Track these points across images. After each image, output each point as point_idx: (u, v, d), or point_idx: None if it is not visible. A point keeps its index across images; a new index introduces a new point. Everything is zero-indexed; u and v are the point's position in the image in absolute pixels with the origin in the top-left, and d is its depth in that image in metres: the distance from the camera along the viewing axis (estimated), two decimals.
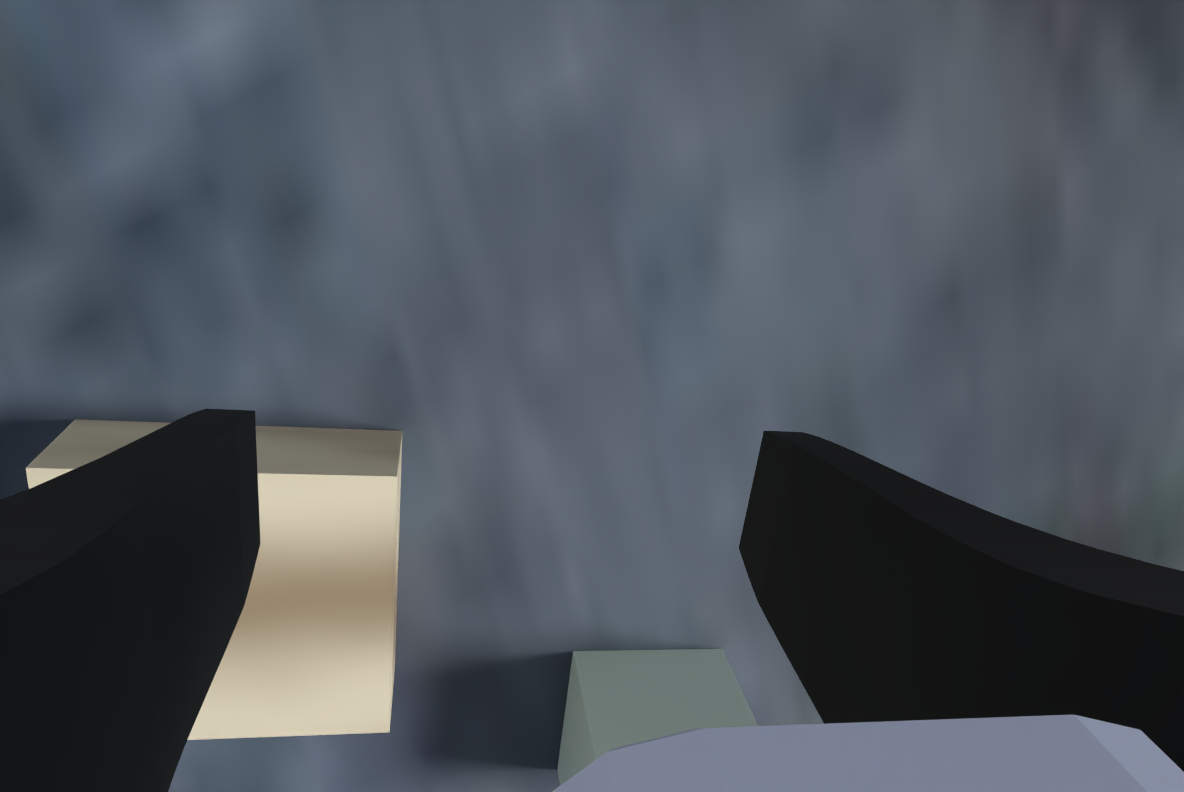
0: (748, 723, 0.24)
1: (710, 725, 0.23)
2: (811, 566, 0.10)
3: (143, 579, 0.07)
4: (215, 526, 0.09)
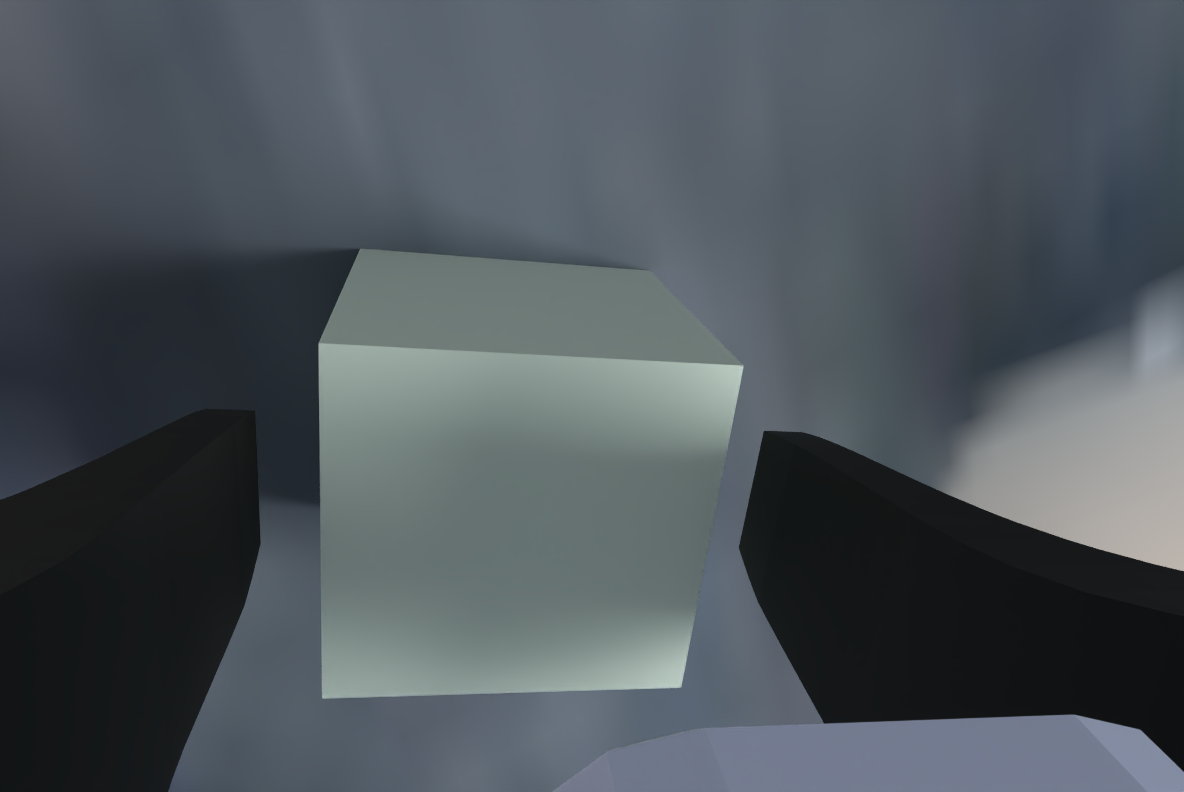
0: (686, 324, 0.11)
1: (605, 319, 0.11)
2: (810, 565, 0.10)
3: (143, 579, 0.07)
4: (215, 526, 0.09)
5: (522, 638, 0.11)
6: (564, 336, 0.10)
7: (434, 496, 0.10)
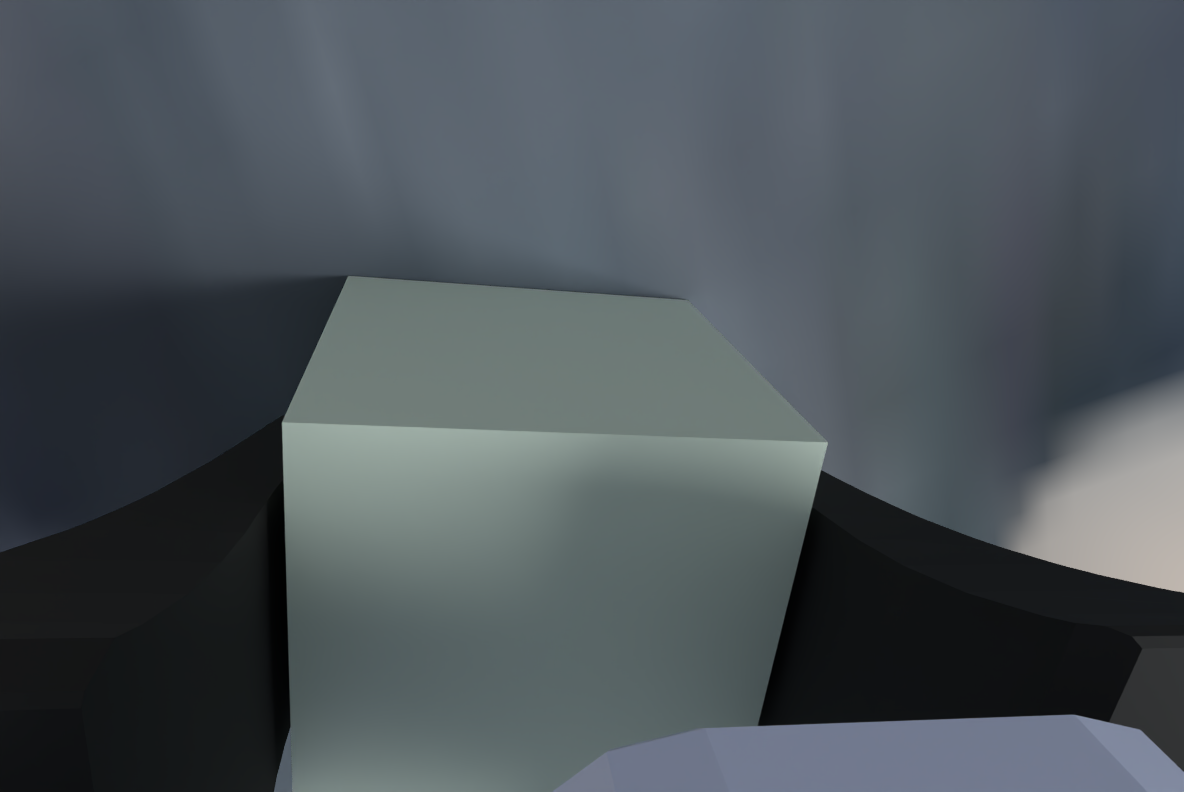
0: (744, 378, 0.09)
1: (645, 375, 0.09)
2: None
3: (265, 579, 0.07)
4: None
5: (542, 770, 0.09)
6: (597, 401, 0.08)
7: (433, 608, 0.08)
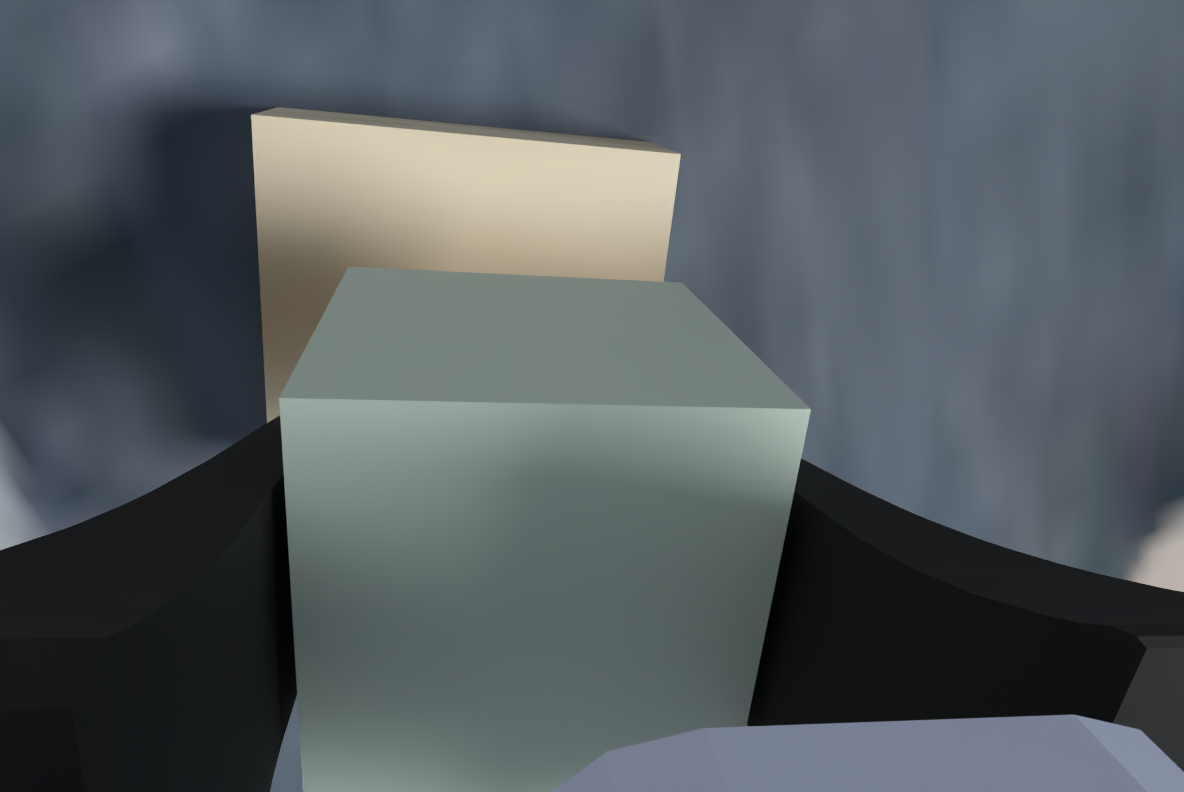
0: (733, 353, 0.09)
1: (635, 350, 0.09)
2: None
3: (261, 579, 0.07)
4: None
5: (543, 738, 0.09)
6: (587, 375, 0.08)
7: (431, 578, 0.08)
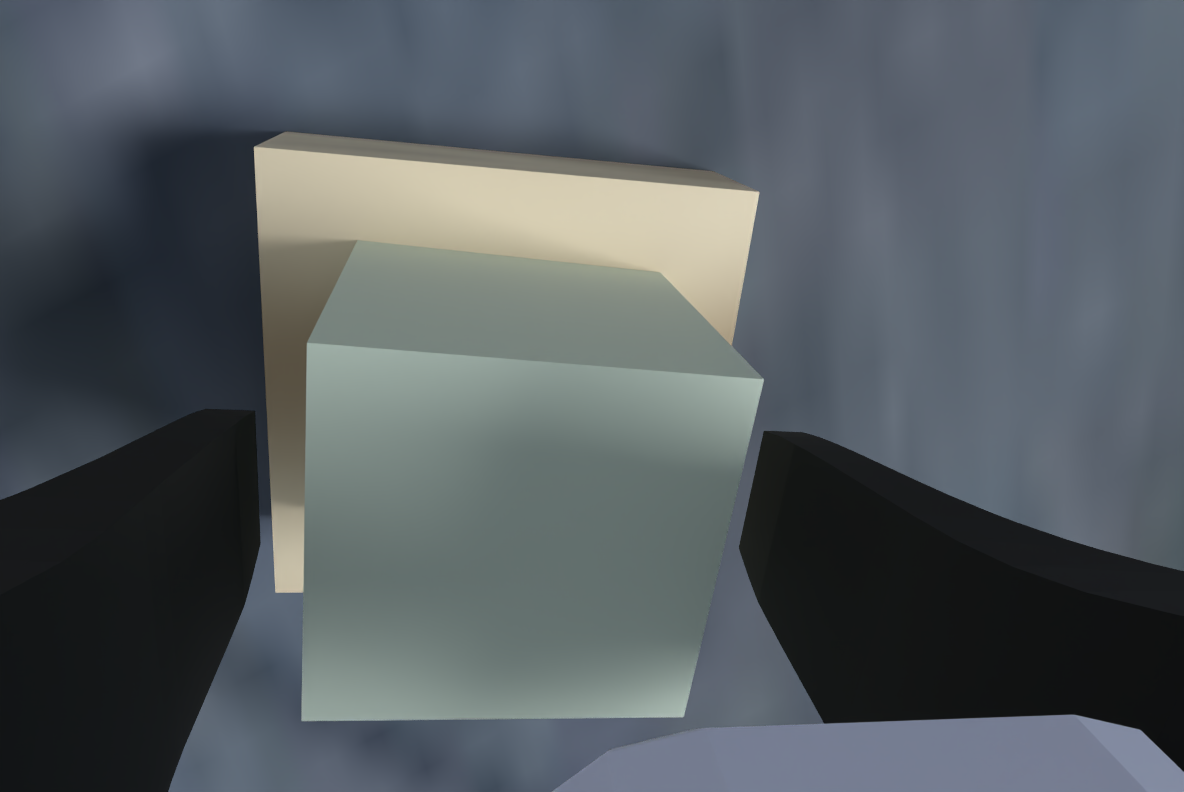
0: (701, 332, 0.11)
1: (615, 324, 0.10)
2: (810, 565, 0.10)
3: (143, 579, 0.07)
4: (215, 526, 0.09)
5: (517, 662, 0.10)
6: (572, 341, 0.10)
7: (428, 510, 0.09)
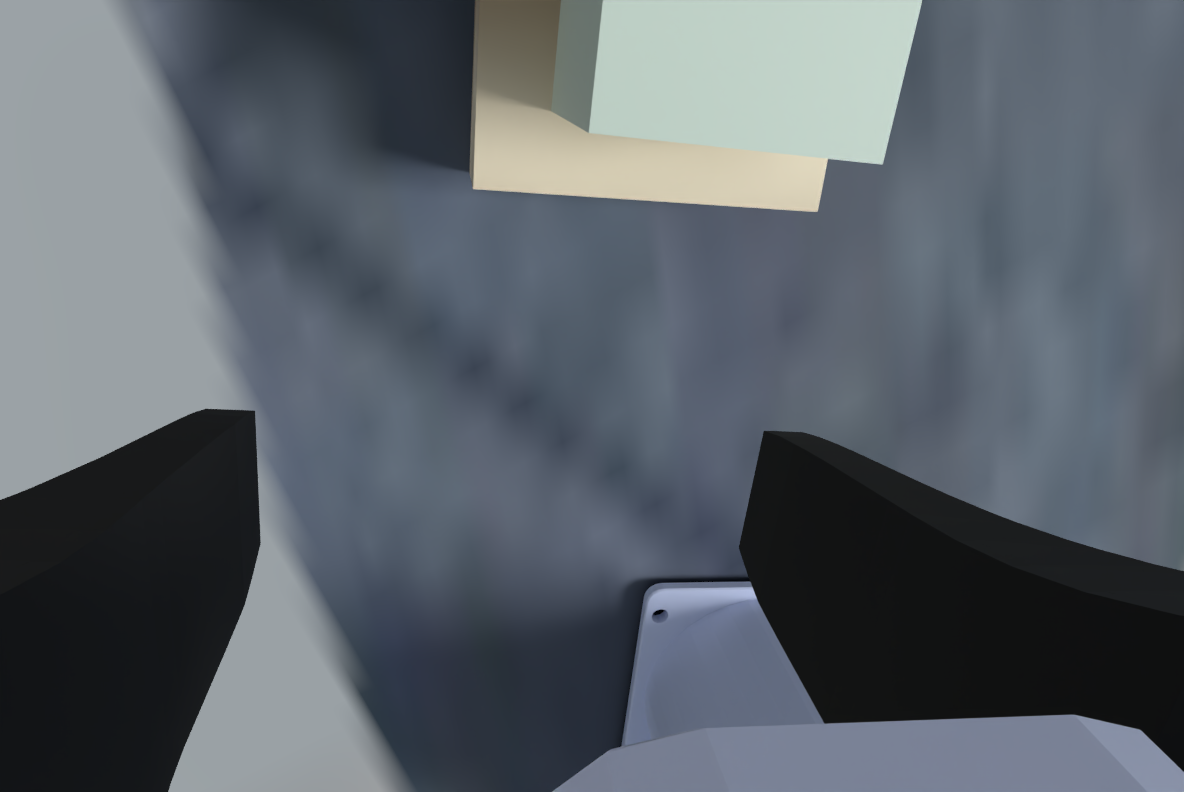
0: None
1: None
2: (810, 565, 0.10)
3: (143, 579, 0.07)
4: (215, 526, 0.09)
5: (758, 88, 0.13)
6: None
7: None
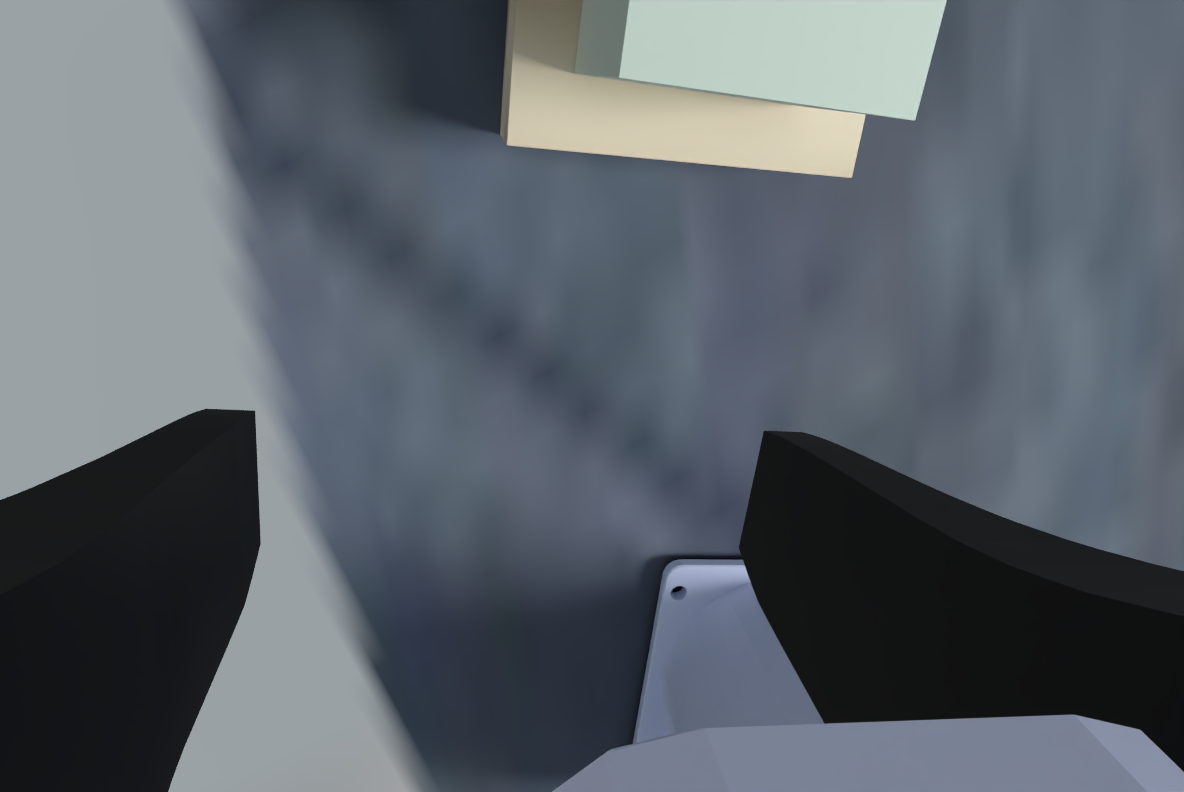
0: None
1: None
2: (811, 565, 0.10)
3: (143, 579, 0.07)
4: (215, 526, 0.09)
5: (791, 37, 0.12)
6: None
7: None
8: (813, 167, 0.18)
